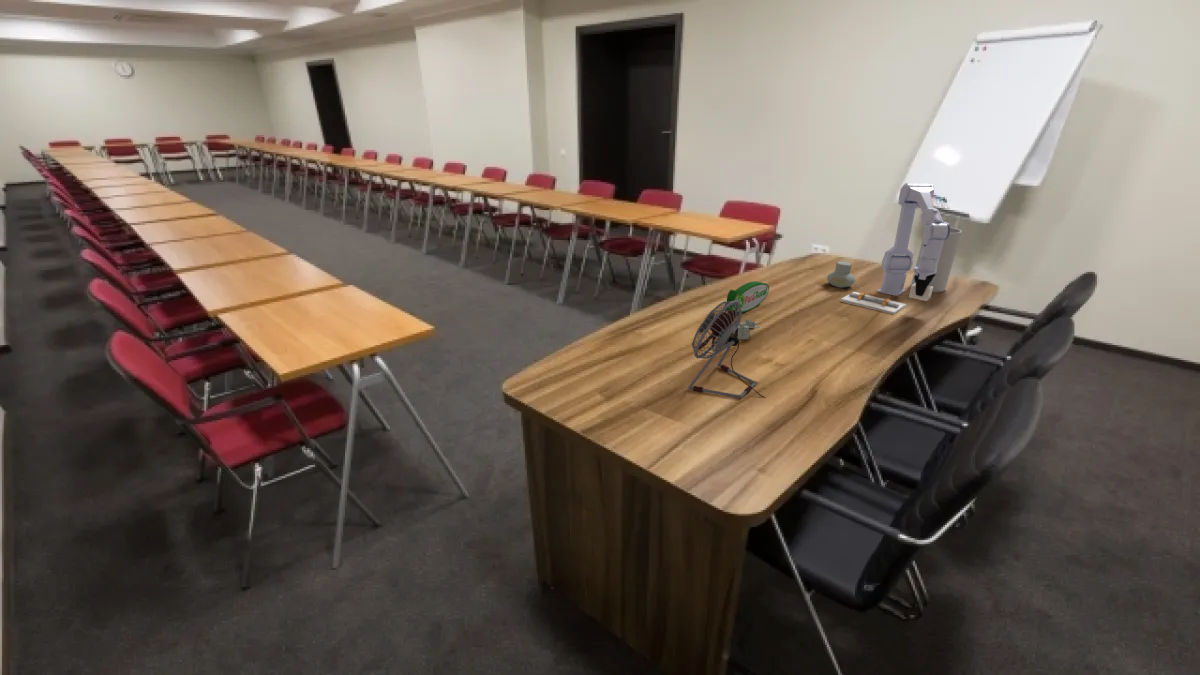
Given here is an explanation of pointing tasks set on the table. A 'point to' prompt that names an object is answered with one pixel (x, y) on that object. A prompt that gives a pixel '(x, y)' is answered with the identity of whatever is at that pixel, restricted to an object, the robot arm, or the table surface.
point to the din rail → (874, 300)
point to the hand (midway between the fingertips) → (920, 293)
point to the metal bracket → (745, 329)
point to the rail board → (873, 304)
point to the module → (925, 296)
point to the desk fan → (719, 343)
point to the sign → (748, 295)
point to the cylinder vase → (943, 261)
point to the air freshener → (841, 275)
